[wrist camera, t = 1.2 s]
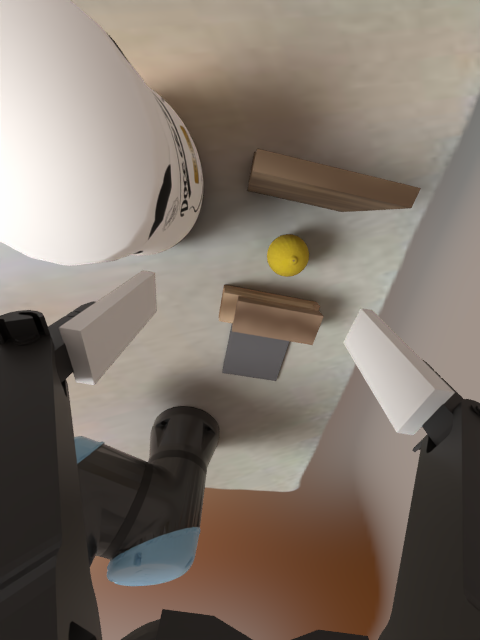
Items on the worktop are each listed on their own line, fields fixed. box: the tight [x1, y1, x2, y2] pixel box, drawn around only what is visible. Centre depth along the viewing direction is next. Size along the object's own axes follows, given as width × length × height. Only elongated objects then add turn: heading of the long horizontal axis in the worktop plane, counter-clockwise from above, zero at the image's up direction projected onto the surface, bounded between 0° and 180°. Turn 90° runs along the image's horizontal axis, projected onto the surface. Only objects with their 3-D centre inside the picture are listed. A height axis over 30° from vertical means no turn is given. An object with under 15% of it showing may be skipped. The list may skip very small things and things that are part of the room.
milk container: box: [0, 0, 203, 266], centre depth 22 cm, size 17×17×18 cm
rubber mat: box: [222, 323, 289, 381], centre depth 41 cm, size 11×11×1 cm
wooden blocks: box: [219, 149, 421, 345], centre depth 28 cm, size 23×16×14 cm
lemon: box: [267, 234, 309, 277], centre depth 30 cm, size 6×6×8 cm
